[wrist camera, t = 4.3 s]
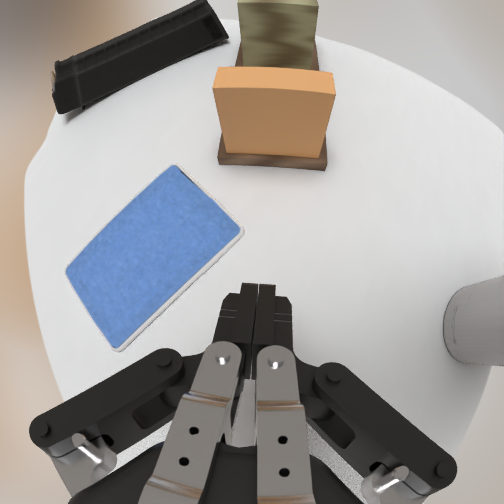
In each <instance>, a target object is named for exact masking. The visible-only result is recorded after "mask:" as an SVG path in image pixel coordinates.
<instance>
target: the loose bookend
mask: <svg viewBox="0 0 504 504" xmlns="http://www.w3.org/2000/svg"><path fill="white" fill-rule="evenodd" d="M213 93H214V98H215V102H216V107H217V111H218V116H219V120H220V125H221V129H222V134H223V138H224V143H225V148H226V152H227V153H237V154H262V155H280V156H293V157H305V158H316V159H318V158H319V155H320V151H321V148H322V144H323V140H324V137H325V133H326V130H327V126H328V122H329V118H330V115H331V111H332V107H333V103H334V100H335V96H336V92H335V86H334V79H333V74H332V73H330V72H322V71H313V70H304V69H292V68H276V67H218V70H217V73H216V77H215V80H214V84H213Z"/></svg>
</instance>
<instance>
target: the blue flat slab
mask: <svg viewBox="0 0 504 504" xmlns="http://www.w3.org/2000/svg"><path fill="white" fill-rule="evenodd" d="M244 233H245V230H244V227H243V226H242V225H241V224H240V223H239V222H238V221H237V220H236V219H235V218H234V217H233V216H232V215H231V214H230V213H229V212H228V211H227V210H226V209H225V208H224V207H223V206H222V205H221V204H220V203H219V202H218V201H217V200H216V199H215V198H214V197H213V196H211V195H210V194H209V193H208V192H207V191H206V190H205V189H204V188H203V187H202V186H201V185H200V184H199V183H198V182H197V181H196V180H195V179H194V178H193V177H192V176H191V175H190V174H189V173H188V172H187V171H186V170H184V169H183V168H182V167H181V166H180V165H179V164H171V165H169V166H168V167H167V168H166V169H165V170H163V171H162V172H161V173H160V174H159V175H158V176H156V177H155V178H154V179H153V180H152V181H151V182H150V183H149V184H147V185H146V186H145V187H144V188H143V189H142V190H141V191H140V192H139V193H138V194H137V195H135V196H134V197H133V198H132V199H131V200H130V201H129V202H128V203H127V204H126V205H125V206H124V207H123V208H122V209H121V210H120V211H119V212H117V213H116V214H115V215H114V216H113V217H112V218H111V219H110V220H109V221H108V222H107V223H106V224H105V225H104V226H103V227H102V228H101V229H100V230H99V231H98V232H97V233H96V234H95V235H94V237H93V238H92V239H91V240H90V241H89V242H88V243H87V244H86V245H85V246H84V247H83V248H82V249H81V250H80V252H79V253H78V254H77V255H76V256H75V257H74V258H73V259H72V260H71V262H70V263H69V264H68V265H67V266H66V268H65V276H66V278H67V280H68V282H69V283H70V285H71V287H72V289H73V290H74V292H75V294H76V295H77V297H78V299H79V300H80V302H81V304H82V305H83V307H84V309H85V310H86V312H87V313H88V315H89V316H90V318H91V320H92V321H93V323H94V324H95V326H96V327H97V329H98V330H99V332H100V333H101V335H102V336H103V337H104V339H105V340H106V342H107V343H108V344H109V346H110V347H111V349H113V350H114V351H116V352H120V351H122V350H124V349H125V348H126V347H127V346H128V345H129V344H130V343H131V342H132V341H133V340H134V339H135V338H136V337H137V336H138V335H139V334H140V333H141V332H142V331H143V330H144V329H145V328H146V327H147V326H148V325H149V324H150V323H151V322H152V321H153V320H154V319H156V318H157V317H158V316H159V315H160V314H161V313H162V312H163V311H164V310H165V309H166V308H167V307H168V306H169V305H170V304H171V303H172V302H173V301H174V300H175V299H177V298H178V297H179V296H180V295H181V294H182V293H183V292H184V291H185V290H186V289H187V288H188V287H189V286H190V285H191V284H192V283H193V282H194V281H196V280H197V279H198V278H199V277H200V276H201V275H202V274H203V273H205V272H206V271H207V270H208V269H209V268H210V267H211V266H212V265H213V264H214V263H216V262H217V261H218V259H219V258H220V257H221V256H223V255H224V254H225V253H226V252H227V251H228V250H229V249H230V248H231V247H232V246H233V245H235V244H236V243H237V242H238V241H239V240H240V239H241V238H242V237H243V235H244Z"/></svg>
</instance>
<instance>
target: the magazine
mask: <svg viewBox="0 0 504 504" xmlns="http://www.w3.org/2000/svg"><path fill="white" fill-rule="evenodd" d="M228 38H229V36H228V34H227V33H226V31H225V29H224V27H223V25H222V24H221V22H220V20H219V18H218V17H217V15H216V13H215V12H214V10H213V9H212V7H211V6H210V5H209V3H208V2H207V0H195V1H193V2H192V3H190V4H188V5H186V6H184V7H182V8H179V9H177V10H175V11H173V12H171V13H169V14H167V15H164V16H162V17H159V18H157V19H155V20H152V21H150V22H148V23H146V24H144V25H142V26H140V27H138V28H136V29H133V30H131V31H129V32H127V33H125V34H122V35H120V36H118V37H115V38H113V39H111V40H109V41H107V42H105V43H103V44H100V45H98V46H95V47H93V48H91V49H88V50H86V51H84V52H82V53H79V54H77V55H75V56H71V57H70V58H68V59H66V60H64V61H61V62H60V61H56V62H55V72H56V73H55V74H54V73H53V71H51V81H52V91H53V93H52V97H53V100H54V103H55V106H56V109H57V112H58V114H64V113H67V112H69V111H71V110H74V109H76V108H79V107H81V106H82V109H84V108H85V104H88V103H90V102H92V101H94V100H96V99H99V98H101V97H103V96H105V95H107V94H110V93H112V92H114V91H117V90H119V89H121V88H124V87H126V86H128V85H130V84H132V83H134V82H136V81H138V80H140V79H142V78H144V77H146V76H149V75H151V74H153V73H155V72H157V71H159V70H161V69H163V68H165V67H167V66H170V65H172V64H174V63H176V62H178V61H180V60H182V59H184V58H186V57H188V56H190V55H192V54H194V53H196V52H198V51H200V50H202V49H204V48H206V47H208V46H210V45H213V44H215V43H217V42H219V41H221V40H224V39H228ZM55 75H56V76H55Z"/></svg>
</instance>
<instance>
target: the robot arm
mask: <svg viewBox="0 0 504 504" xmlns="http://www.w3.org/2000/svg"><path fill="white" fill-rule="evenodd" d="M275 290H276V285H270V284H260V285H259V294H258V284H254V283H242V286H241V291H240V294H237V293H229V294H228V295H227V296H226V297H225V299H224V300H223V302H222V306H221V310H220V314H219V318H218V322H217V326H216V330H215V334H214V337H213V341H212V344H211V345H209V346H208V347H207V348H206V350H205V351H204V352H202V353H200V354H197V355H192V356H184V357H181V355H180V354H179V353H178V352H177V351H175V350H173V349H169V348H162V349H158V350H156V351H154V352H152V353H150V354H149V355H147V356H145V357H144V358H142V359H140V360H139V361H137V362H135V363H133V364H132V365H130V366H128V367H126V368H125V369H123V370H121V371H120V372H118V373H116V374H114V375H113V376H111V377H109V378H107V379H105V380H104V381H102V382H100V383H98V384H97V385H95V386H93V387H91V388H89V389H88V390H86V391H84V392H82V393H80V394H78V395H77V396H75V397H73V398H71V399H69V400H67V401H66V402H64V403H62V404H60V405H58V406H57V407H54V408H52V409H51V410H49V411H47V412H45V413H43V414H41V415H39V416H37V417H36V418H35V419H34V420H33V421H32V422H31V425H30V428H29V434H30V438H31V440H32V441H33V443H34V444H35V445H37V446H38V447H39V448H41V449H42V450H43V451H44V452H45V453H46V454H48V455H49V456H50V458H51V459H52V461H53V463H54V465H55V467H56V469H57V471H58V473H59V475H60V477H61V479H62V480H63V482H64V484H65V486H66V488H67V489H68V491H69V492H70V494H71V496H72V498H71V499H70V501H69V503H68V504H364V503H363V502H362V501H361V500H360V499H359V498H358V497H357V496H356V495H355V494H354V493H353V492H352V491H351V490H350V489H349V488H348V487H347V486H346V485H345V484H344V483H343V482H342V481H341V480H340V479H339V478H338V477H337V476H336V475H335V474H334V473H333V472H332V471H331V469H330V468H329V467H328V466H327V465H326V464H325V463H323V462H322V461H321V460H319V459H318V458H316V457H314V456H312V455H310V454H309V447H308V437H307V427H306V421H307V423H308V424H309V425H310V426H311V427H312V428H313V429H314V430H315V431H316V432H317V433H318V434H319V435H320V436H321V437H322V438H323V439H324V440H325V441H326V442H327V443H328V444H329V445H330V446H331V447H332V448H333V449H334V450H335V451H336V452H337V453H338V454H339V455H340V456H341V457H342V458H343V459H344V460H345V461H346V462H347V463H348V464H349V465H350V466H351V467H352V468H353V469H355V470H356V471H357V472H358V473H359V474H360V475H361V476H362V477H363V478H364V480H363V481H362V484H361V493H362V495H363V497H364V498H365V499H366V501H367V503H368V504H422V503H423V502H424V501H425V500H426V498H427V497H428V496H429V495H431V494H433V493H435V492H437V491H439V490H441V489H443V488H445V487H447V486H449V485H450V484H451V483H452V482H453V480H454V479H455V477H456V474H457V465H456V462H455V460H454V458H453V457H452V456H451V455H449V454H448V453H447V452H446V451H444V450H443V449H442V448H441V447H439V446H438V445H437V444H436V443H435V442H433V441H432V440H431V439H430V438H429V437H427V436H426V435H425V434H424V433H422V432H421V431H420V430H419V429H418V428H416V427H415V426H414V425H413V424H412V423H410V422H409V421H408V420H407V419H406V418H405V417H403V416H402V415H401V414H400V413H399V412H397V411H396V410H395V409H394V408H393V407H392V406H390V405H389V404H388V403H387V402H386V401H385V400H383V399H382V398H381V397H380V396H379V395H378V394H376V393H375V392H374V391H373V390H372V389H371V388H369V387H368V386H367V385H366V384H365V383H364V382H363V381H361V380H360V379H359V378H358V377H357V376H356V375H354V374H353V373H352V372H351V371H350V370H349V369H348V368H346V367H345V366H344V365H342V364H339V363H334V362H329V363H325V364H323V365H321V366H320V367H315V366H312V365H308V364H306V363H304V362H302V361H300V360H299V359H298V358H297V357H296V355H295V354H294V351H293V336H292V305H291V303H290V301H289V300H288V298H287V297H281V296H275ZM444 338H445V343H446V346H447V348H448V350H449V352H450V354H451V355H452V356H453V357H454V358H455V359H456V360H458V361H460V362H465V363H474V364H483V365H495V366H504V275H503V276H500V277H497V278H494V279H490V280H487V281H483V282H480V283H477V284H473V285H470V286H467V287H463V288H462V289H460V290H458V291H457V292H456V293H455V295H454V296H453V297H452V299H451V300H450V302H449V304H448V307H447V309H446V313H445V317H444ZM251 365H252V378H251V379H253V380H256V381H255V397H254V446H249V447H242V448H238V447H234V446H231V444H232V436H233V430H234V426H235V421H236V417H237V413H238V409H239V404H240V400H241V396H242V391H243V387H244V379H250V373H251ZM171 420H173V421H172V424H171V426H170V429H169V432H168V434H167V437H166V440H165V441H163V442H161V443H158V444H156V445H154V446H152V447H150V448H149V449H147V450H146V451H144V452H143V453H141V454H140V455H138V456H137V457H135V458H134V459H132V460H131V461H129V462H128V463H126V464H125V465H123V466H122V467H120V468H118V469H117V470H115V471H114V472H112V473H110V472H111V471H112V470H113V469H114V468H115V466H116V464H117V454H119V453H121V452H122V451H124V450H126V449H127V448H129V447H131V446H132V445H134V444H135V443H137V442H139V441H140V440H142V439H143V438H145V437H147V436H148V435H150V434H151V433H153V432H154V431H156V430H158V429H159V428H161V427H162V426H164V425H165V424H167V423H168V422H170V421H171ZM109 473H110V474H109ZM108 474H109V475H108Z"/></svg>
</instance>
